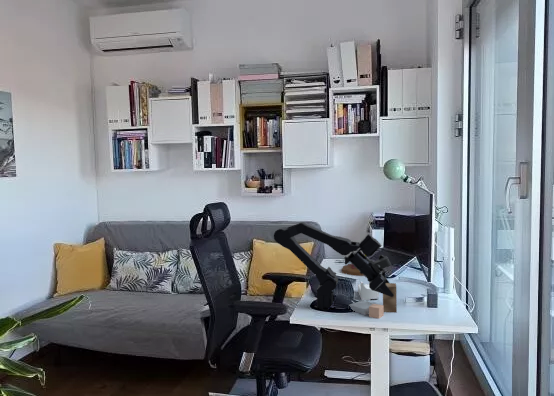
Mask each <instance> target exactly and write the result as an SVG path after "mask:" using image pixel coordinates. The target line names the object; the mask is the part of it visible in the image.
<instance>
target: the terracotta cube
mask: <svg viewBox="0 0 554 396" xmlns="http://www.w3.org/2000/svg"><path fill="white" fill-rule="evenodd" d="M384 313H385V312H384V305H383V304H378V303H374V304H372V305H371V306H369V314H368V316H369V318H373V319H381V318H383V317H384V315H385V314H384Z"/></svg>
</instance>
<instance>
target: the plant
mask: <svg viewBox="0 0 554 396" xmlns="http://www.w3.org/2000/svg"><path fill="white" fill-rule="evenodd" d="M360 252H361V253H363V252H362V251H360ZM363 254H364V253H363ZM364 255H365V254H364ZM365 256H366V255H365ZM366 257H367V256H366ZM341 274H345V275H349V276H356V277H365V276H364V275H363V274H361V273H360V271H359V270H358V269H357V268H356V267H355V266H354V265H353V264H352V263H351V262H350V263H347V264H346V265H345V264H344V265H343V266H342V267H341Z"/></svg>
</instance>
